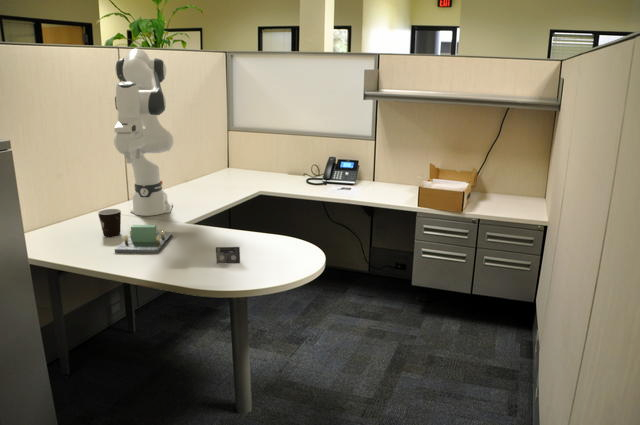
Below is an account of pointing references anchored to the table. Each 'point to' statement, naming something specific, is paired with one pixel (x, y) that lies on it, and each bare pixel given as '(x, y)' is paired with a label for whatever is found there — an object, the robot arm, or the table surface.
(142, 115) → the robot arm
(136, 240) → the green block
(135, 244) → the chassis plate
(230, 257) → the mini dv tape
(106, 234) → the coffee mug
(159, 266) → the table surface
